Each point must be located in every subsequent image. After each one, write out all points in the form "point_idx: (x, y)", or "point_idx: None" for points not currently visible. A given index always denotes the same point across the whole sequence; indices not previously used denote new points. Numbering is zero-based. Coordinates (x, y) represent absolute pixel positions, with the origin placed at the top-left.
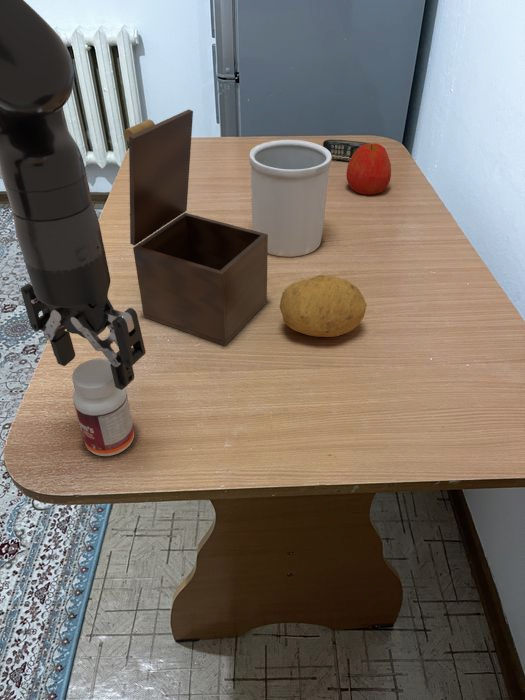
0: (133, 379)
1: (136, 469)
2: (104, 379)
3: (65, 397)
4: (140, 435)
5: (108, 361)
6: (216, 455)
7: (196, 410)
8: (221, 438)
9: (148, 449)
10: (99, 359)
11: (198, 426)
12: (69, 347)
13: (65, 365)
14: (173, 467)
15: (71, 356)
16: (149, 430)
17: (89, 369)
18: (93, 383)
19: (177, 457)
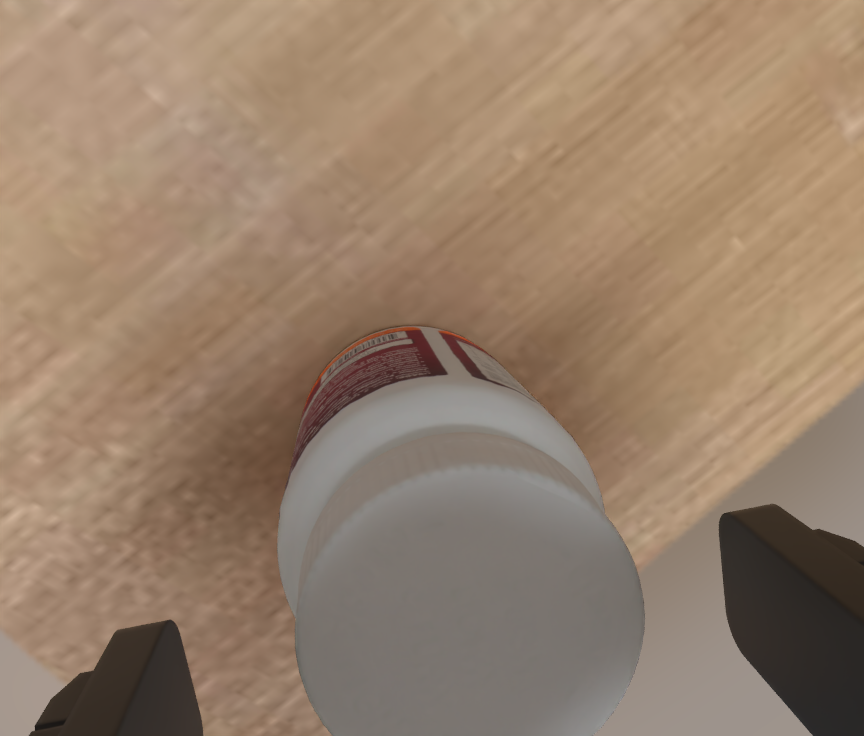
0: (823, 534)
1: (622, 466)
2: (595, 638)
3: (4, 392)
4: (500, 329)
5: (450, 485)
6: (847, 202)
7: (602, 37)
8: (810, 109)
9: (587, 363)
10: (373, 519)
11: (678, 117)
12: (151, 725)
13: (199, 715)
14: (738, 364)
15: (175, 667)
16: (510, 282)
17: (405, 638)
18: (560, 712)
19: (717, 316)
